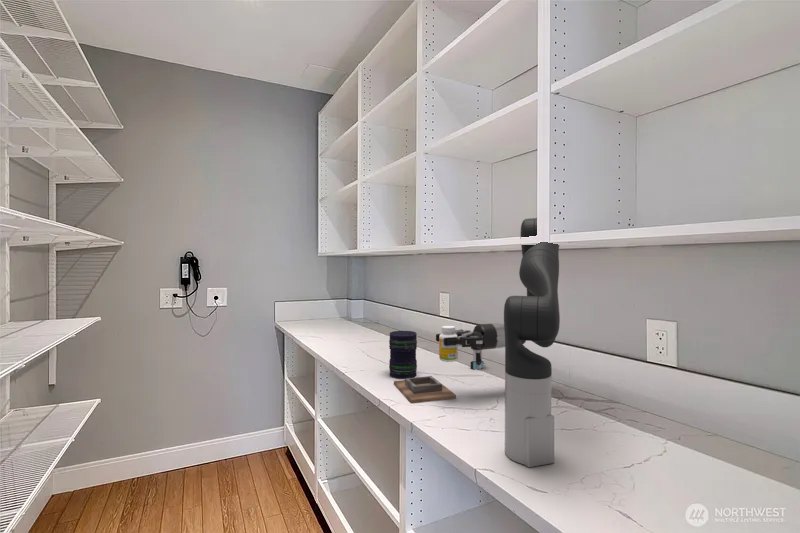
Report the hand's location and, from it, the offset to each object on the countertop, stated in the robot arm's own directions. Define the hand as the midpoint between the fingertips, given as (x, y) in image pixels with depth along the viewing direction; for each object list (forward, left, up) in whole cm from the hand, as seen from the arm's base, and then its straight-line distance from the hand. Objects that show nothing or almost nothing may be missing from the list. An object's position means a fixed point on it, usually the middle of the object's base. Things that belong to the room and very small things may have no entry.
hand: (440, 339), depth 113 cm
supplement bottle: (0, -3, -6) cm, 7 cm away
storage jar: (+27, +3, -18) cm, 33 cm away
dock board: (+9, +2, -18) cm, 20 cm away
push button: (+27, -27, -18) cm, 42 cm away
